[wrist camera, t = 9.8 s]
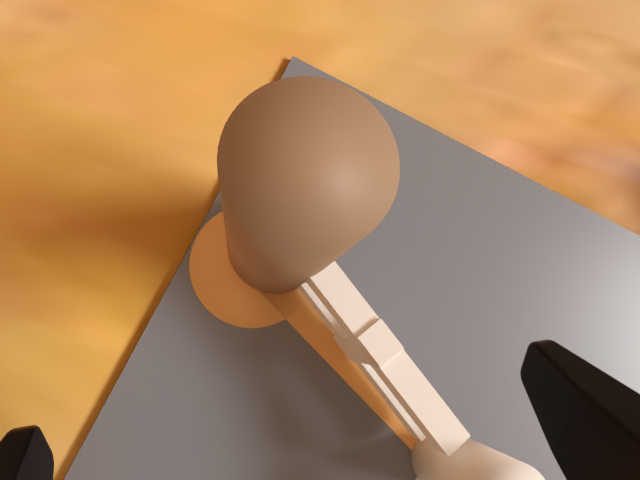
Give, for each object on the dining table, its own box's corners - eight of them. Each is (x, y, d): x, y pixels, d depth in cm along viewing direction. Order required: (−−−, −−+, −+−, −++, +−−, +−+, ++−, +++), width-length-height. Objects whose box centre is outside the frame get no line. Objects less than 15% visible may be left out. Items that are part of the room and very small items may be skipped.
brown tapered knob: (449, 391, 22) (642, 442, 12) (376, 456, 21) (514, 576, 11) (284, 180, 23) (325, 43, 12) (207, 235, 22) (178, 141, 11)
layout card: (566, 918, 20) (571, 927, 20) (-33, 660, 19) (-38, 665, 18) (740, 291, 26) (746, 290, 25) (292, 59, 24) (293, 55, 24)
